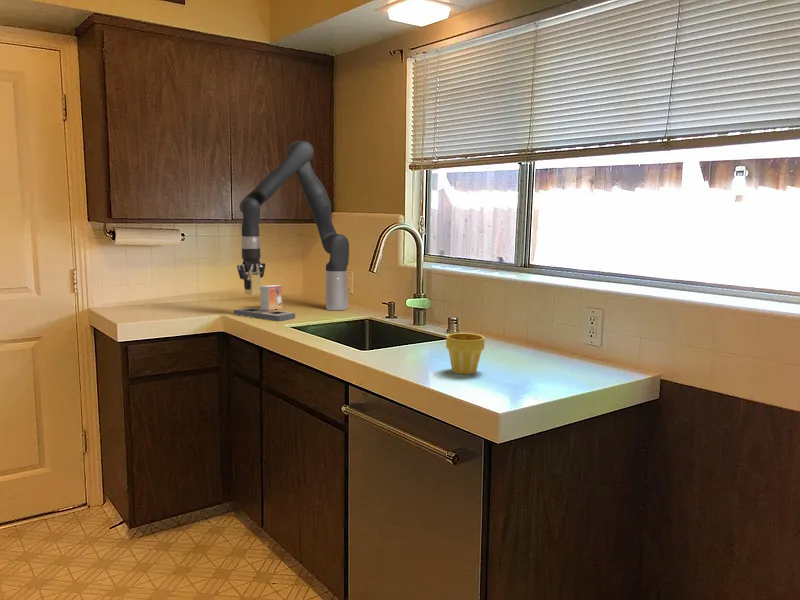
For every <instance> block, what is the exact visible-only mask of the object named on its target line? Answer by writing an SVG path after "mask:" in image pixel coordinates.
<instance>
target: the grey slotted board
mask: <svg viewBox="0 0 800 600" xmlns="http://www.w3.org/2000/svg"><path fill="white" fill-rule="evenodd" d="M234 314H237V315H236V316H239V315H243V316H242V317H246V316H250V317H249V318H253V317H256V318H255V319H260V318H262V320H267V319H269V321H274V320H275V322H282V321H288V320H294V318H295V319H296V313H294V312H292V311H285V310H279V309H278V310H265V309H260V308H257V307H256V308H255V307H245V308H237V309H233V315H234Z"/></svg>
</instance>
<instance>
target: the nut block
mask: <svg viewBox="0 0 800 600" xmlns="http://www.w3.org/2000/svg"><path fill="white" fill-rule="evenodd" d="M246 277H247V275H246ZM260 279H261V278H260V274H251V275H250V280H249V281H250V289H249V290H247V289H245V287H244V289H243V290H244V291H243V292H244V293H243V294H244V295H251V296H253V295H254V296H255V295H260V286H261V282H260V281H261V280H260Z"/></svg>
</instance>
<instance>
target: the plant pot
mask: <svg viewBox="0 0 800 600" xmlns="http://www.w3.org/2000/svg"><path fill="white" fill-rule="evenodd" d="M445 340H446V341H445V347H446V349H447V350H448V353H449V360H450V366H451V371H452V372H453V373H455V374H458V375H459V374H460V375H471V374H475V373H477V372H478V371H477V369H478V368H479V367H478V366H479V362H480V358H481V355H482V351H484V349H485V340H486V339H485V336H483V335H481V334H477V333H472V332H471V333H470V332H455V333H449V334H447V335H446V338H445Z"/></svg>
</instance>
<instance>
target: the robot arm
mask: <svg viewBox="0 0 800 600" xmlns="http://www.w3.org/2000/svg"><path fill="white" fill-rule="evenodd" d="M314 150H315V149H314V147H313V145H312V144H311V143H310V142H309V141H305V140H297V141H296V140H295V141H293V142H291V143H290V144H289V145H288V146H287V157H286V158H285V159H284V161H283V162H282V163H281V164H279V165H277V167H276V168H274V169H273V170H272V171H271V172H270V173H268V174H267V175H266V176H264V178H263V179H262V180H261V181H260V182H259V183H258V184H257V186H256V187H255V188H254V189H253V190H252V191H250V192H249V193H248V194H247V195H246V196H245V197H244V198H243V199H241V201H240V204H239V206H238V207H239V211H240V213H242V224H241V240H240V241H241V259H242V264H240V265H239V264H237V266H236V269H237V272H238V276H239V279H240V280H243V286H244V287H245V289H247V290H249V289H250V281H249V280H250V275H251V274H260V279H261V278H264V275H265V270H266V263H265V262H261V261H260V259H261V257H262V256H261V240H260V239H261V238H260V218H261V206H262V205H263V204H264V203H265V202H266V201H268V200H269V199H271V198H272V197H273V196H274V194H275V193H276V192H277V191H278V190H279V189H280V188H281V187H282V186H283V185H284V183H285V182H286V181H288V179H290V177H291V176H292V175H294V173H296V175H297V178H298V179H299V180H298V181H299V183H300V186H301V189H302V191H303V194H304V197H305V199H306V202H307V205H308V208H309V210H310V212H311V215H312V217H313V219H314V222H315V224H316V225H315V226H316V227H317V230H318V233H319V234H318V235H319V236H320V242H321V244H322V248H323V249H324V251H325V252H326V254H328V255H329V260H328V262H327V263H326V264H325V310H329V311H345V310H347V309H349V287H348V284H347V283H348V281H347V280H348V275H347V274H348V273H347V272H348V266H349V260H350V243H349V239H348V237H347V236H345V235H344V234H341V233H340V234H339V233H337V231H336V229H335V226H334V224H333V221H332V205H331V204H332V203H331V200H330V198H329V195H328V193H327V190H326V188H325V186H324V185H323V182H322V181H321V180H320V179H319V178H318V175H317V174H316V173H315V171H314V169H313V167H312V163H311V160H312V158H313V157H314V153H315V152H314ZM246 275H247V277H246Z"/></svg>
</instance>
